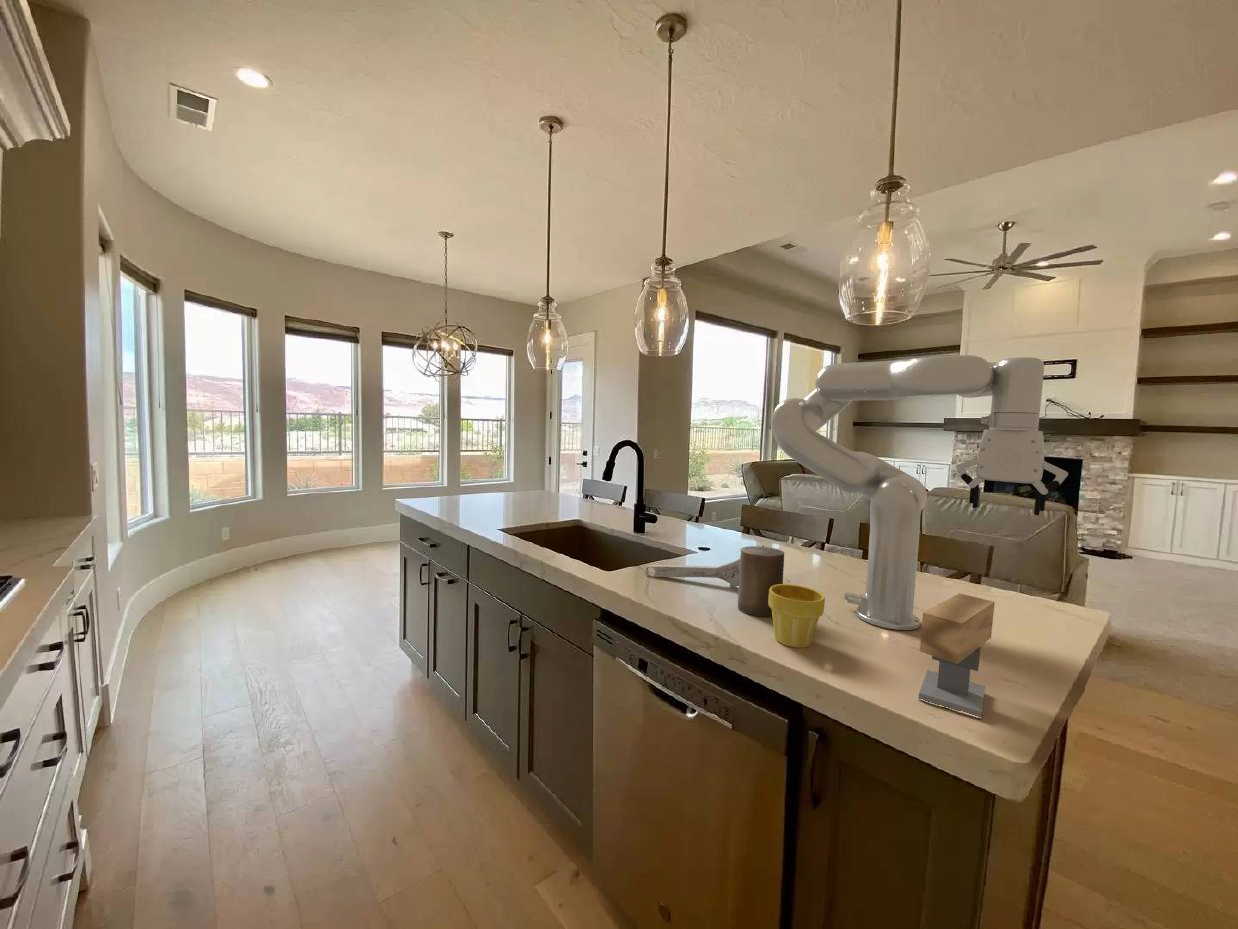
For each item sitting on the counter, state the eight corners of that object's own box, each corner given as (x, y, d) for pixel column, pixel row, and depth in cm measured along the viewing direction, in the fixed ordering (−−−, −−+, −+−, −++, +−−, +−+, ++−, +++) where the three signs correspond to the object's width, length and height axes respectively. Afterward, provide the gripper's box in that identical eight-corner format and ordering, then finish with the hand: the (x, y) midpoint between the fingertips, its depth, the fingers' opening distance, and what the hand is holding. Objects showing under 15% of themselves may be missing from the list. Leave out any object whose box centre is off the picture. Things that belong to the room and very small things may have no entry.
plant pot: (833, 646, 98) (837, 596, 98) (795, 656, 93) (799, 604, 92) (791, 626, 107) (794, 581, 106) (754, 635, 102) (757, 587, 101)
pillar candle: (786, 618, 112) (791, 550, 111) (741, 616, 112) (745, 548, 111) (774, 603, 122) (778, 541, 121) (733, 601, 122) (736, 539, 121)
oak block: (919, 651, 77) (923, 612, 77) (956, 627, 87) (959, 593, 87) (957, 664, 73) (961, 623, 73) (991, 637, 84) (994, 601, 83)
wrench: (648, 584, 142) (760, 588, 131) (646, 586, 140) (759, 590, 129) (646, 555, 141) (758, 557, 131) (644, 557, 140) (757, 558, 129)
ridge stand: (918, 700, 79) (923, 647, 79) (926, 676, 87) (931, 628, 87) (981, 720, 75) (986, 663, 74) (984, 693, 82) (989, 642, 82)
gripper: (957, 421, 102) (949, 506, 103) (1073, 423, 90) (1063, 519, 92) (963, 422, 107) (956, 503, 109) (1073, 425, 96) (1063, 515, 97)
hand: (1005, 510), depth 100 cm, fingers open, 9 cm apart
